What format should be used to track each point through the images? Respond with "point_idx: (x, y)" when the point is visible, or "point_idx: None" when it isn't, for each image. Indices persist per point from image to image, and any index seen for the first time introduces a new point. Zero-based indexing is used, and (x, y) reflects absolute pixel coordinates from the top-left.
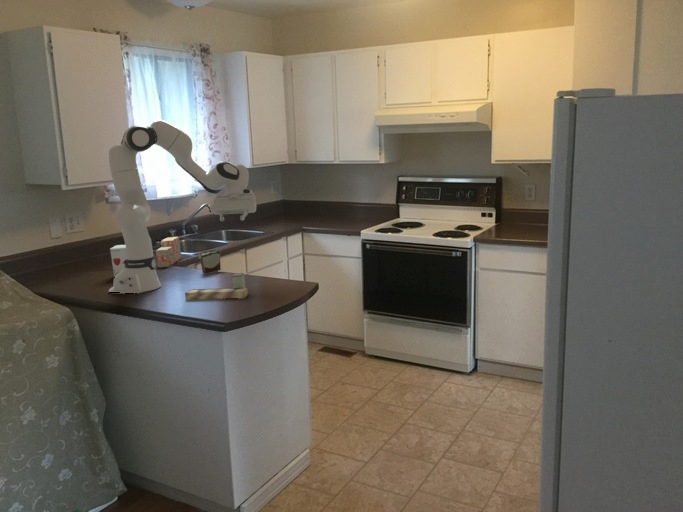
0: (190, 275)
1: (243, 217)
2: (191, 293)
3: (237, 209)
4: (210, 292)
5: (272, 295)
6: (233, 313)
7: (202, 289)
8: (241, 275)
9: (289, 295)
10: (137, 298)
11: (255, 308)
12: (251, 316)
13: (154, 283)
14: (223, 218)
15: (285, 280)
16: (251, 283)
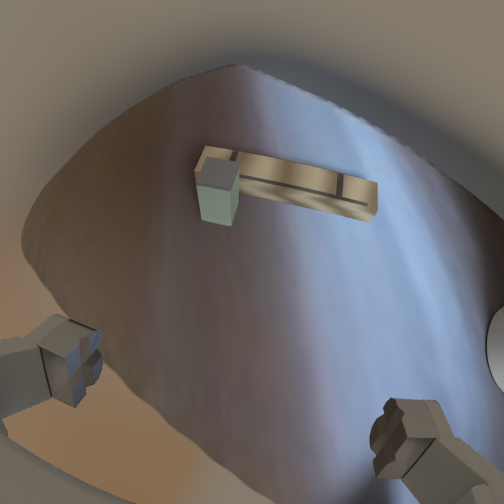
0: None
1: (47, 327)
2: (358, 179)
3: (51, 466)
4: (302, 165)
5: (134, 165)
6: (230, 88)
7: (335, 195)
8: (205, 160)
9: (98, 157)
10: (490, 252)
11: (186, 100)
12: (197, 74)
13: (501, 326)
14: (390, 436)
15: (68, 306)
16: (181, 313)
